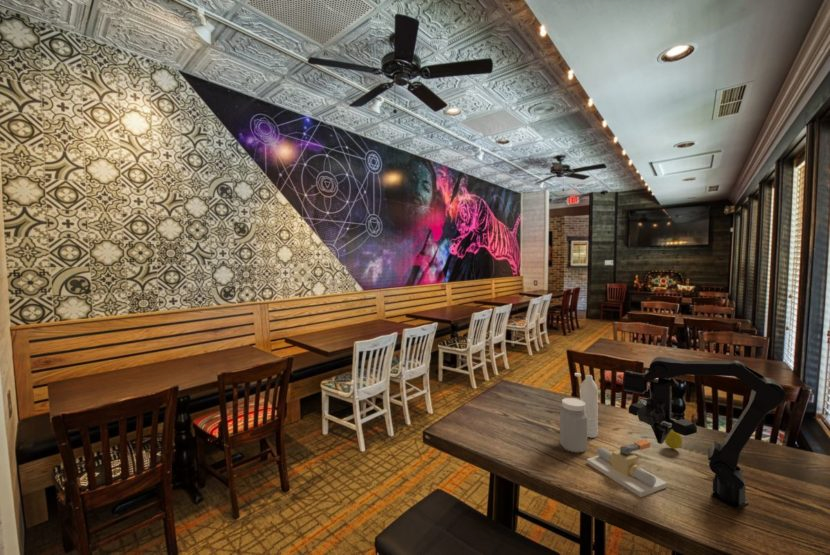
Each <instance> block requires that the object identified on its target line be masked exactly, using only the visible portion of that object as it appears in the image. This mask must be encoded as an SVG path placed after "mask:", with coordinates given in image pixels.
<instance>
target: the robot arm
mask: <svg viewBox="0 0 830 555" xmlns="http://www.w3.org/2000/svg"><path fill="white" fill-rule="evenodd" d="M681 376H719V377H720V376H721V377H722V376H723V377H726V376H727V377H735V378H736V379H738V380H739V381H741V382H742V383H743V384H744V385H745V386H747V387H748V388H750V389H751V391H750V395H749V401H748V403H747V405H746V406H745V408H744V410H743V411H742V413H741V414H740V416H739V417H738V418H737V420H736V421H735V423H734V425H733V426H732V428H731V429H730V431H729V433H728V435H727V436H726V438H725V439H724V440H723V441H722V442H717V441H716V440H713V442H712V444H711V447H709V448H708V449H707V460H708V467H709V469H710V470H711V472H712V473H714V477H713V478H712V491H713V492H711V494H710V495H711V497H712V498H714V499H717V500H718V501H720V502H722V503H724V504H726V505H728V506H729V507H732V508H734V509H739V508H741V507H744V506H745V505H748V504H749V500H747V499H746V487H747V486H746V482H745V481H744V474H743V470H742V469H741V468H740V466H738V463H739V458H740V454H741V452H742V451H743V449H744V448H745V446H746V445H747V443H748V442H749V440H750V438H751V437H752V436H753V434H754V433H755V431H756V430H757V429H758V427H759V425H760V424H761V422H762V421H763V419H764V418H765V416H766V415H767V414H769V413H771V412H772V411H774V410H776V409H777V408H778V407H779V406H780V405H781V404H782V403H783V402H784V401H785V400H786V397H787V395H786V394H787V393H786V391H785V390H784V388H783V387H782V384H780V383H779V381H777V380H776V379H774V378H771V377H765V376H764V375H762V374H761V373H759V372H758V371H756V370H754V369H753V368H751V367H749V366H747V365H745V364H744V363H743V362H742V361H740V360H737V359H735V360H726V361H725V360H679V359H675V358H673V357H672V358H671V357H663V356H656V357H654V358H653V359H652V360H651V362H650V365H649V368H648V369H645V371H644V373H642V372H636V371H631V370H625V372H624V379H623V380H624V381H623V391H625V392H630V393H635V394H641V395H644V394H645V393H646V392H648V390H649V397H648V398H647V400H646V402H645V403H642V402H636V403H632V404H629V406H628V410H627V413H629V414H631V415H632V416H633V415H634V416H637V418H638V421H639V422H641V423H642V422H643V423H646V424H647V425H648V426H650V428H651V429H652V431H653V433H654V436H655V439H656V442H657V443H658V444H659V445H663V443H664V442H665V438H666V437H667V435H668V434H669V432H670V431H671V430H673V431H674V432H676V433H679V434H681V436H684V437H685V436H686V437H687V436H690V435H692V434H697V433H698V426H697V425H696V424H695V423H694V422H691V421H690V420H687V419H684V418H681V419H678V420H677V419H675V418H674V415H675V414H674V412H672V405H674V404H675V400H672V387H675V388H678V387H679V384H680V383H679V381H677V379H675V378H677V377H681Z"/></svg>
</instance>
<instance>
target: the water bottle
mask: <svg viewBox="0 0 830 555" xmlns="http://www.w3.org/2000/svg"><path fill="white" fill-rule="evenodd" d="M574 376H575V377H578V378H580V377H582V374H581V373H580V372H574ZM593 378H594V377H593V375H592V374H586V375H585V379H584V380H582V382H581V383H580V386H579V387H580V400H582V401H583V402H585V413H586V414H587V438H589V437H590V439H591V438H594V439H595V438H597V437H598V435H599V431H598V430H599V429H598V428H599V425H598V423H599V422H598V421H599V416H598V415H599V412H598V411H599V406H598V405H599V404H598V403H599V402H598V401H599V393H598V392H599V387H598V385H597V383H596V382H595V381H594V379H593Z"/></svg>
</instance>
